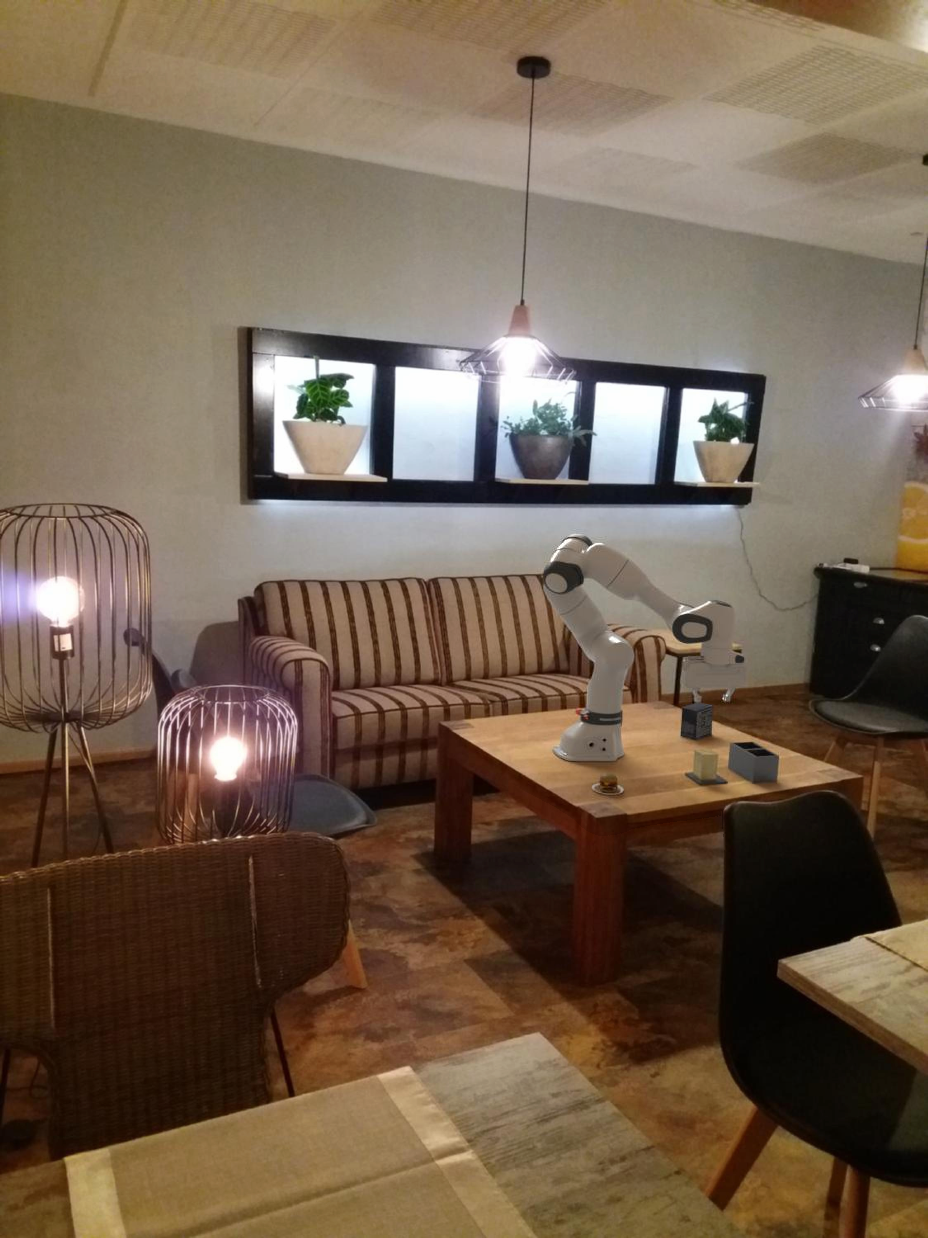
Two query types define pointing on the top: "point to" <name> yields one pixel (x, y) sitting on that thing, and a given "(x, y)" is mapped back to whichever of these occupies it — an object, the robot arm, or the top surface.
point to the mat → (718, 781)
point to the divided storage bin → (753, 762)
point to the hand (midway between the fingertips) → (711, 701)
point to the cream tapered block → (705, 765)
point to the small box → (696, 721)
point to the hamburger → (608, 784)
